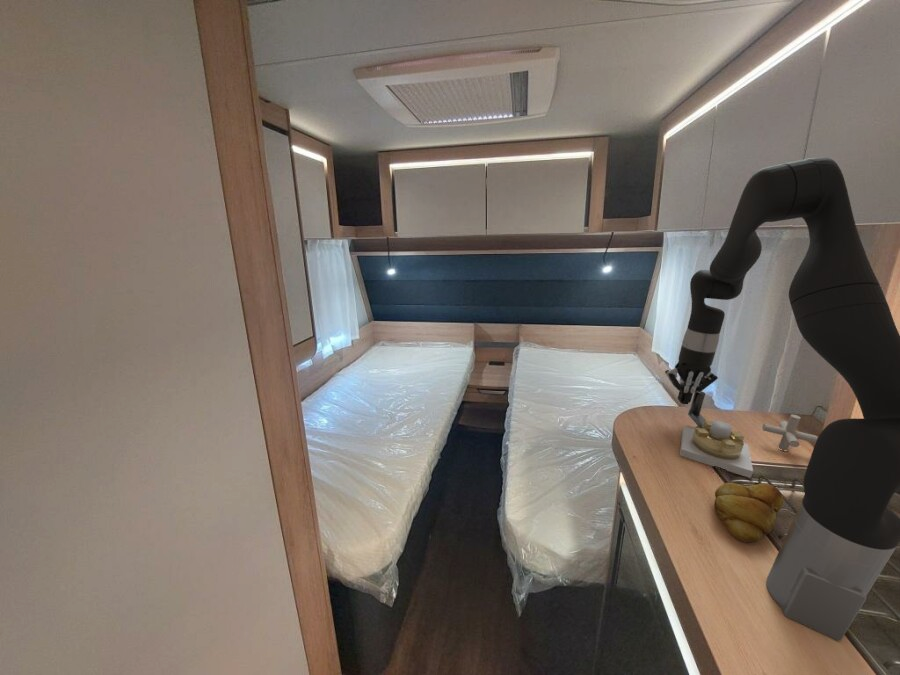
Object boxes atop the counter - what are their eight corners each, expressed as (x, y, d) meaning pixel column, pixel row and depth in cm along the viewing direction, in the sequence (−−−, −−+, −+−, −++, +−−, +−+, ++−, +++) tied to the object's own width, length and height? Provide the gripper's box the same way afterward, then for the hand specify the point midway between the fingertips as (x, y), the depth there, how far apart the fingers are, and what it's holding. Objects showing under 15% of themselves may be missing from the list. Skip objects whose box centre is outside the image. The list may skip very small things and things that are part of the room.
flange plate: (750, 478, 80) (761, 448, 77) (679, 455, 88) (687, 427, 85) (745, 450, 89) (755, 423, 86) (681, 432, 97) (689, 406, 94)
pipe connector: (815, 467, 83) (830, 433, 80) (761, 453, 88) (774, 420, 85) (802, 445, 91) (816, 412, 88) (754, 433, 96) (765, 402, 93)
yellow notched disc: (749, 461, 82) (761, 430, 79) (703, 456, 84) (713, 426, 81) (709, 418, 99) (717, 392, 96) (671, 415, 101) (678, 389, 98)
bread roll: (763, 558, 62) (778, 525, 59) (700, 524, 69) (710, 492, 66) (775, 519, 70) (788, 488, 67) (717, 491, 76) (727, 462, 74)
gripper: (679, 350, 88) (664, 408, 94) (735, 352, 87) (716, 411, 93) (665, 340, 95) (652, 394, 101) (716, 342, 94) (700, 397, 100)
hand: (683, 402), depth 97 cm, fingers closed
